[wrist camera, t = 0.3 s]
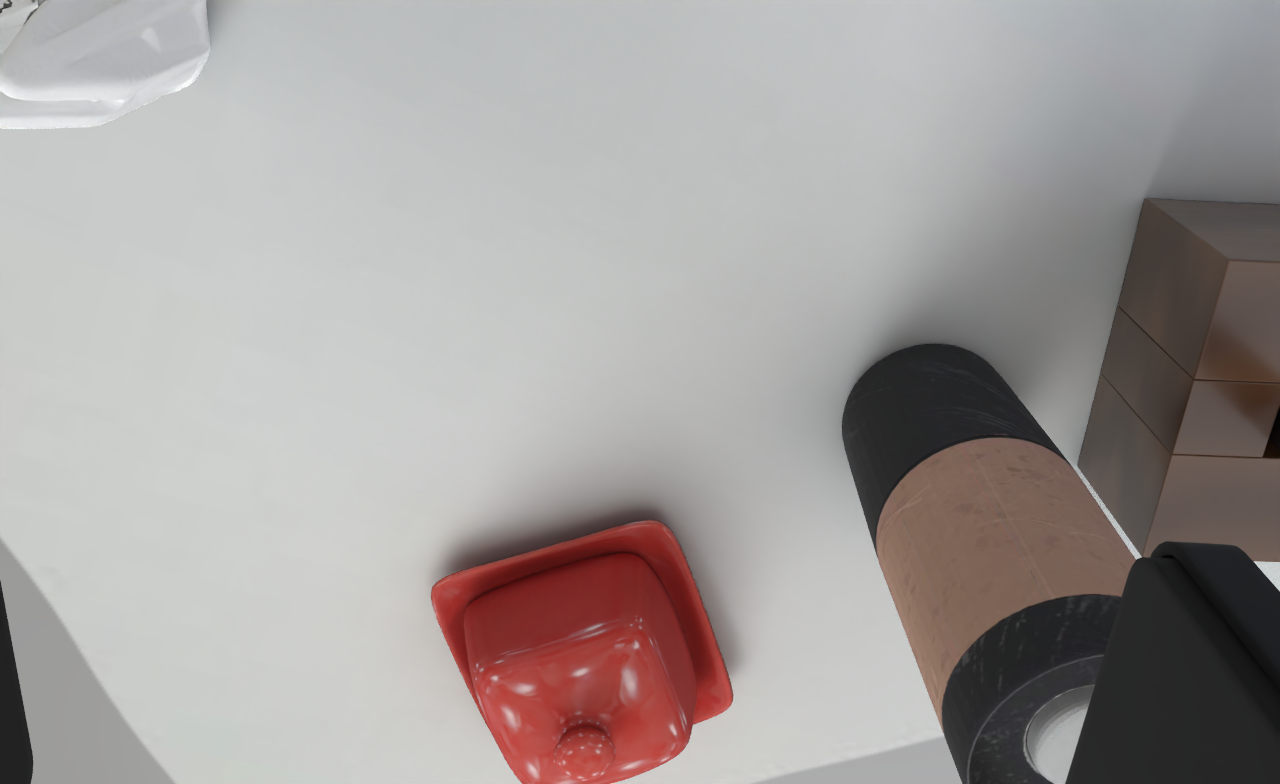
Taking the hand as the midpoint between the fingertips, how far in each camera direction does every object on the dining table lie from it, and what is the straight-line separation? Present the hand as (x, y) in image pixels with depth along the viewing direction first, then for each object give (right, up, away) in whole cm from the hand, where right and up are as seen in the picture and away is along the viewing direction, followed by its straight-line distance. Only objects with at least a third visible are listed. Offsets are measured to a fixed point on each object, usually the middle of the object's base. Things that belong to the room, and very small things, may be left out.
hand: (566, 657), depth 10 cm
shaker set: (-20, +15, +33) cm, 41 cm away
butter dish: (-2, -9, +45) cm, 46 cm away
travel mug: (+13, +1, +40) cm, 42 cm away
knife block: (+24, +4, +39) cm, 46 cm away
